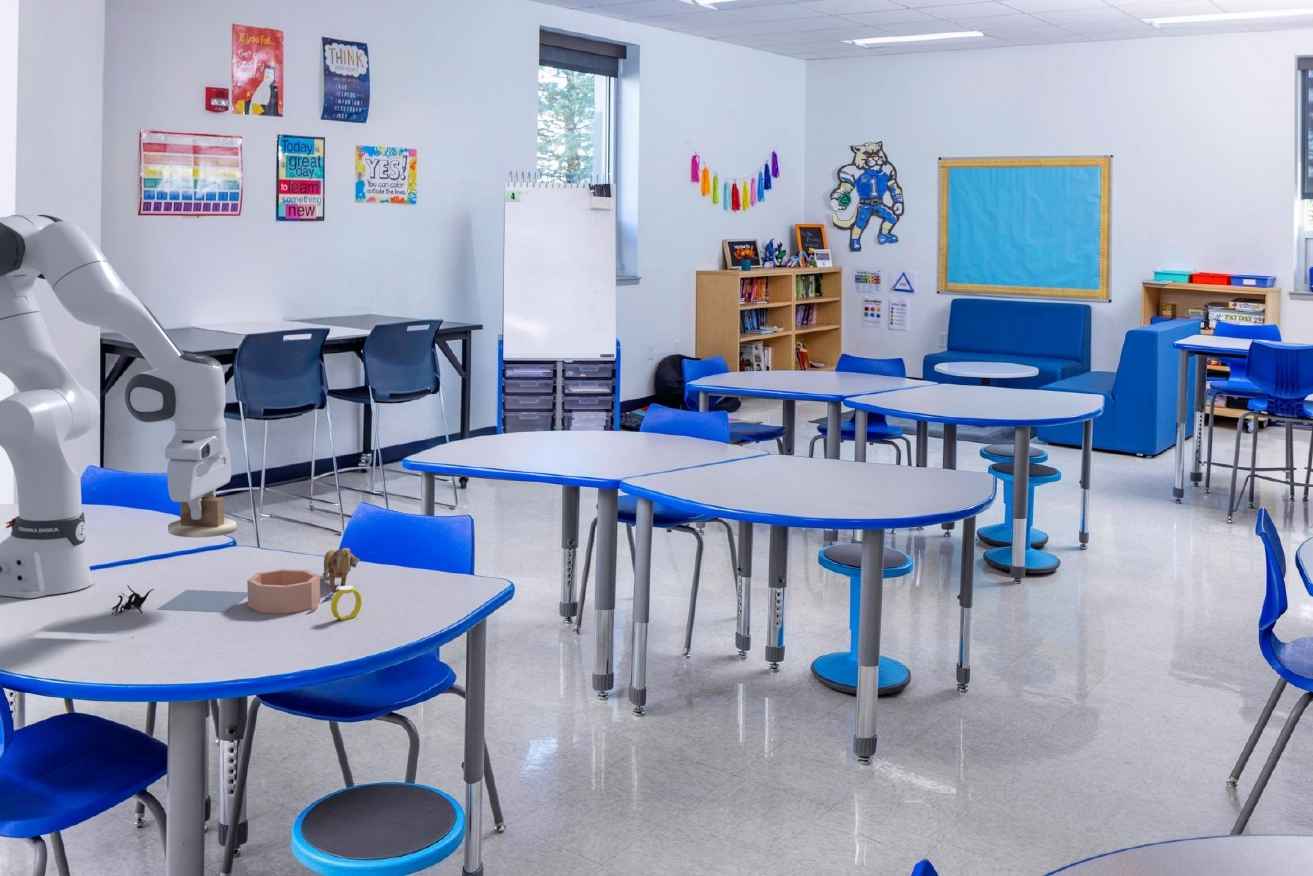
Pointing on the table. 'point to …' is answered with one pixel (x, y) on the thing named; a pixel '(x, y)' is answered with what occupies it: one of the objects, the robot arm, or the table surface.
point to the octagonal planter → (284, 591)
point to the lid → (203, 520)
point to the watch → (337, 596)
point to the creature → (136, 602)
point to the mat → (205, 601)
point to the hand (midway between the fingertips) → (202, 516)
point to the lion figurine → (338, 565)
